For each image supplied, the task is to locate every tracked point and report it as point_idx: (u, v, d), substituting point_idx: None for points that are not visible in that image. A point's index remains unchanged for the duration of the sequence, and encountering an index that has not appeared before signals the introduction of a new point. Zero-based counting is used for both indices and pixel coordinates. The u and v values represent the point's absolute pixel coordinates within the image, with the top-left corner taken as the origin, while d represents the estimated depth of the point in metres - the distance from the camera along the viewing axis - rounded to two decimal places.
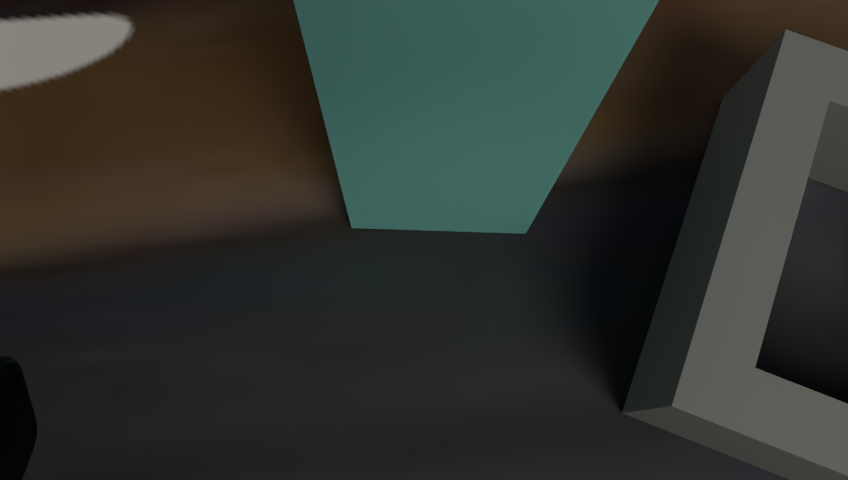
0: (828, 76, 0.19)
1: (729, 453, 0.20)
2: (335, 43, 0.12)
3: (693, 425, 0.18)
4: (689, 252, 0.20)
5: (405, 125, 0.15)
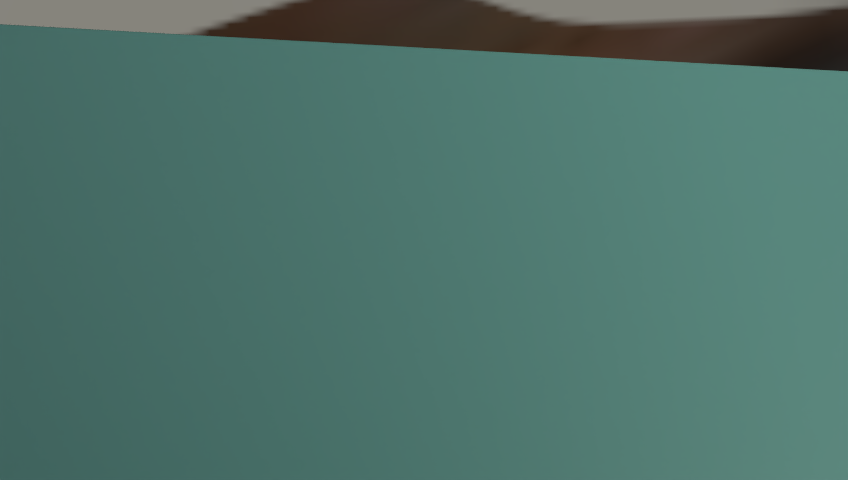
0: None
1: None
2: None
3: None
4: None
5: None
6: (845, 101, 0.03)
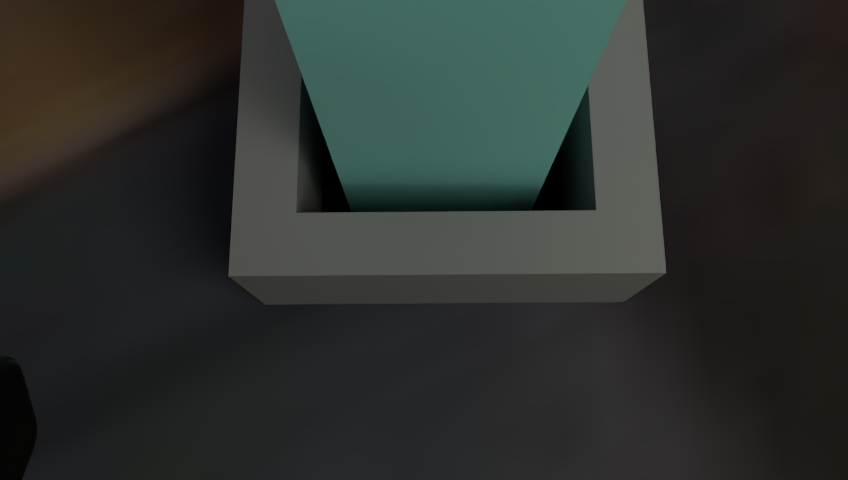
0: None
1: (366, 301, 0.21)
2: (318, 34, 0.12)
3: (284, 287, 0.19)
4: None
5: (396, 114, 0.15)
6: None
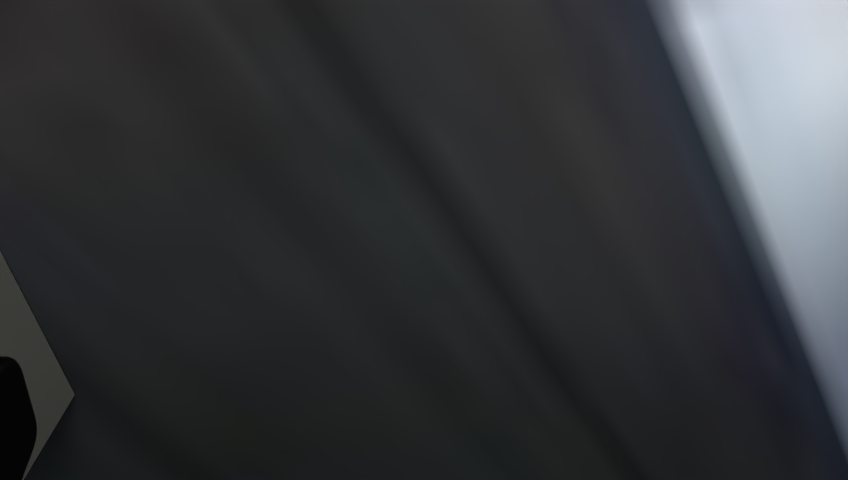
0: None
1: (28, 326, 0.21)
2: None
3: None
4: None
5: None
6: None
